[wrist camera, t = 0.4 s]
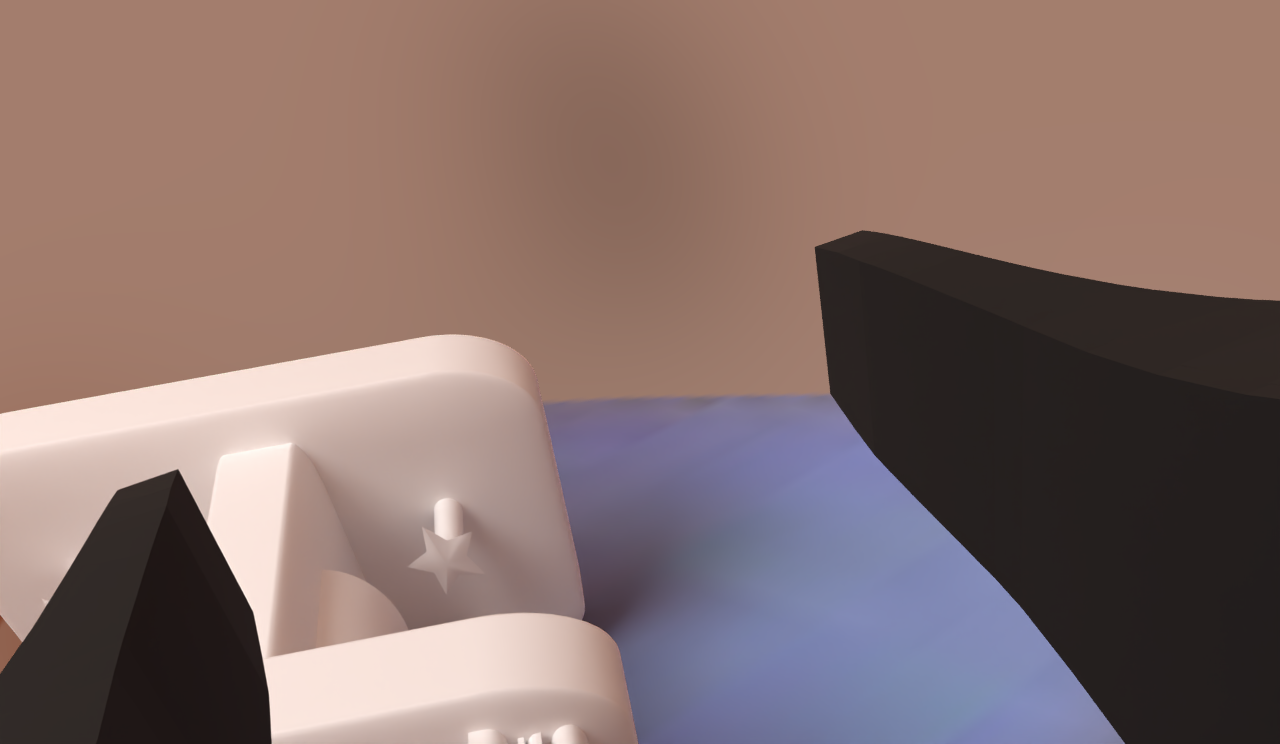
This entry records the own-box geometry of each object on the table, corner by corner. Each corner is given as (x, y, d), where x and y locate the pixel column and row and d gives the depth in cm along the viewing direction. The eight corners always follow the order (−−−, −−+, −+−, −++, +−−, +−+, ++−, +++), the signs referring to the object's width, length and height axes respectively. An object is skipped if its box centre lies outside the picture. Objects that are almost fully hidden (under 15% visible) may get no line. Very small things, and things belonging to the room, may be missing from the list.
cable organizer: (617, 604, 34) (558, 304, 26) (681, 969, 26) (625, 693, 18) (119, 701, 33) (-92, 422, 25) (29, 1107, 25) (-317, 881, 17)
